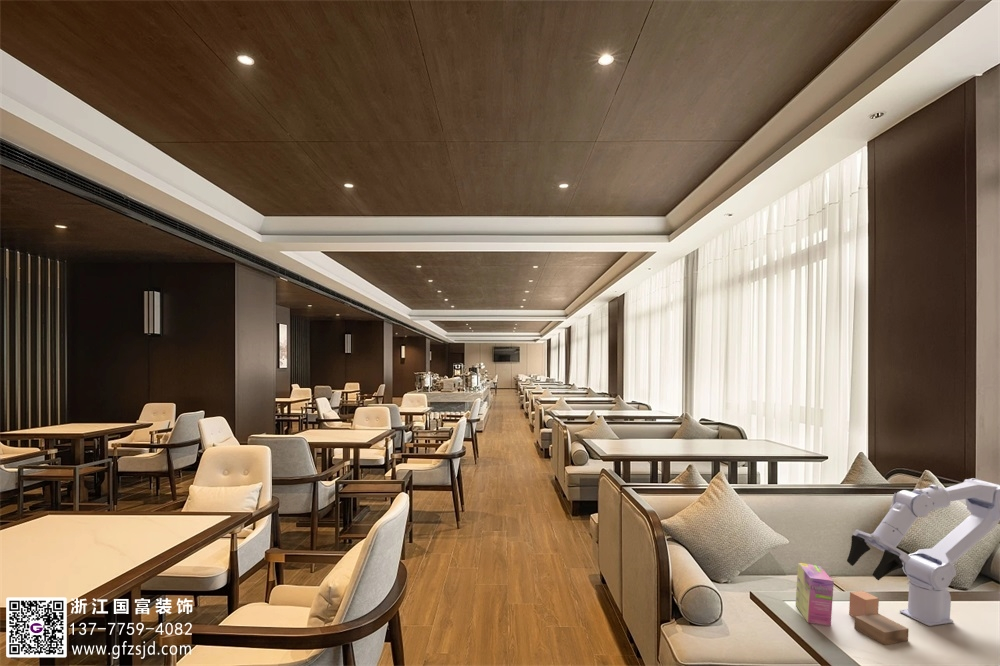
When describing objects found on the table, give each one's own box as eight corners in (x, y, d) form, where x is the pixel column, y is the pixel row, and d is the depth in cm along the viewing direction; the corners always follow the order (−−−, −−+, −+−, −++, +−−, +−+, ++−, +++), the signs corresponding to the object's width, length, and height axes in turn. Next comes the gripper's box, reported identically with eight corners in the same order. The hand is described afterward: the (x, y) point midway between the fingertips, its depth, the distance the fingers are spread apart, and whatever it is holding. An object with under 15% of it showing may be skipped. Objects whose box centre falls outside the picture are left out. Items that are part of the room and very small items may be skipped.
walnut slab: (877, 624, 148) (878, 613, 148) (908, 640, 140) (908, 628, 140) (854, 628, 145) (854, 616, 145) (884, 644, 138) (884, 632, 138)
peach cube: (861, 612, 155) (862, 590, 155) (877, 621, 150) (878, 598, 150) (849, 614, 153) (850, 592, 153) (864, 622, 149) (865, 599, 149)
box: (831, 626, 146) (834, 580, 146) (807, 623, 147) (809, 577, 147) (817, 608, 156) (819, 565, 156) (795, 605, 157) (797, 562, 157)
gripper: (859, 510, 157) (830, 549, 156) (910, 533, 143) (879, 575, 142) (873, 524, 159) (844, 563, 157) (924, 548, 145) (894, 591, 144)
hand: (862, 570), depth 150 cm, fingers open, 7 cm apart
